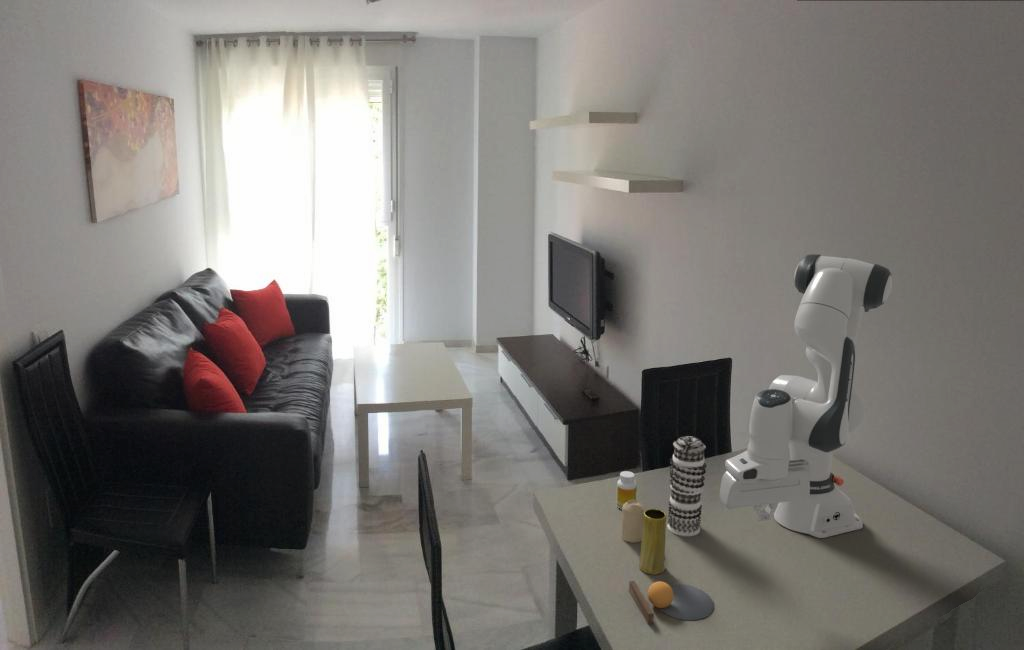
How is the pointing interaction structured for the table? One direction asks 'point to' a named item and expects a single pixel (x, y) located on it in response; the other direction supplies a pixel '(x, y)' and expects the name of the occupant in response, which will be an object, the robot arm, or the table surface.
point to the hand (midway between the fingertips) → (762, 519)
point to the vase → (653, 542)
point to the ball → (660, 594)
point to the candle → (632, 521)
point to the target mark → (688, 603)
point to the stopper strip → (641, 602)
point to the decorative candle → (686, 486)
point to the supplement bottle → (626, 488)
